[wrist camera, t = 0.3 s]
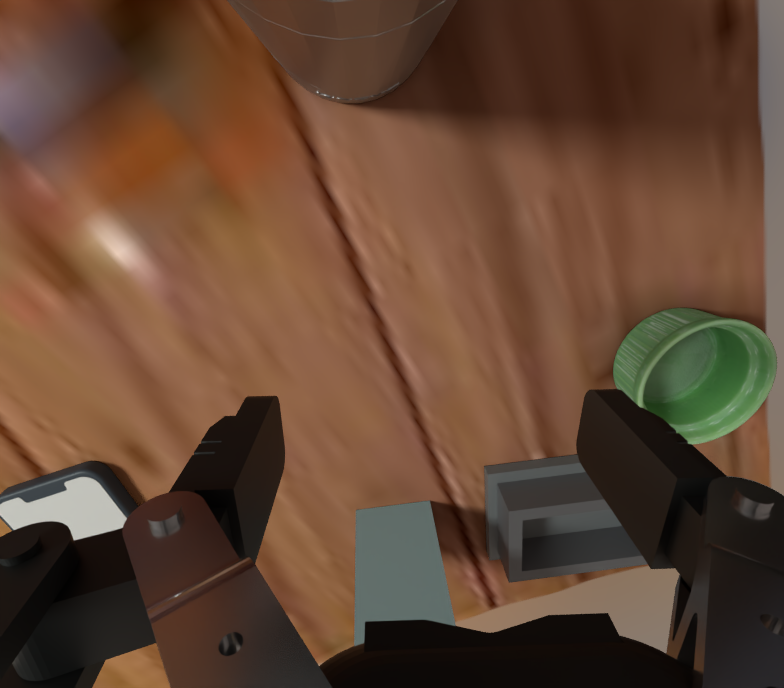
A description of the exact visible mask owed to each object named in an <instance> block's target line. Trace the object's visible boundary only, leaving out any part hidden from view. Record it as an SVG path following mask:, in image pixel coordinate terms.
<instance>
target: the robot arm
mask: <svg viewBox="0 0 784 688" xmlns="http://www.w3.org/2000/svg"><path fill="white" fill-rule="evenodd" d="M227 1H228V2H229V3H230V4H231V6H232V7H233V8H234V9H235V11H236V12H237V13H238V14H239V15H240V17H241V18H242V19H243V20H244V21H245V23H246V24H247V25H248V26H249V27H250V29H251V30H252V31H253V32H254V33H255V35H256V36H257V37H258V38H259V39H260V41H261V42H262V43H263V44H264V45H265V47H266V48H267V49H268V50H269V52H270V53H271V54H272V55H273V56H274V58H275V59H276V60H277V61H278V62H279V63H280V64H281V66H282V67H283V68H284V69H285V70H286V72H287V73H288V74H289V75H290V76H291V77H292V78H293V79H294V80H295V81H296V82H298V83H299V84H300V85H301V86H303V87H304V88H305V89H306V90H308V91H310V92H312V93H314V94H316V95H318V96H320V97H322V98H324V99H327V100H331V101H335V102H339V103H363V102H367V101H371V100H376V99H378V98H380V97H382V96H384V95H386V94H388V93H390V92H392V91H393V90H395V89H396V88H397V87H398V86H399V85H401V84H402V83H403V82H404V81H405V80H407V78H408V77H409V76H410V75H411V73H412V72H413V71H414V70H415V68H416V67H417V66H418V65H419V63H420V61H421V60H422V58H423V56H424V55H425V53H426V51H427V50H428V49H429V47H430V45H431V44H432V42H433V40H434V39H435V37H436V35H437V34H438V32H439V30H440V29H441V27H442V26H443V24H444V22H445V21H446V19H447V17H448V16H449V14H450V12H451V11H452V9H453V7H454V6H455V4H456V2H457V1H458V0H227ZM576 446H577V455H578V458H579V461H580V463H581V465H582V467H583V468H584V470H585V471H586V473H587V474H588V476H589V477H590V479H591V480H592V482H593V483H594V485H595V486H596V488H597V489H598V491H599V492H600V494H601V495H602V497H603V498H604V500H605V501H606V503H607V504H608V506H609V507H610V509H611V510H612V511H613V513H614V514H615V516H616V517H617V519H618V520H619V522H620V523H621V525H622V526H623V528H624V529H625V531H626V532H627V534H628V535H629V537H630V538H631V540H632V541H633V543H634V544H635V546H636V547H637V549H638V550H639V552H640V553H641V555H642V556H643V558H644V559H645V561H646V562H647V564H648V565H649V567H650V568H651V569H667V568H676V570H677V571H678V572H679V574H680V575H679V578H678V582H677V585H676V588H675V596H674V603H673V610H672V617H671V624H670V631H669V638H668V646H667V653H664V652H662V651H660V650H658V649H656V648H653V647H651V646H649V645H646V644H644V643H641V642H639V641H636V640H632V639H629V638H626V637H623V636H619V634H618V632H617V630H616V628H615V626H614V624H613V622H612V621H611V619H610V616H609V615H608V613H600V614H571V615H548V616H545V617H542V618H539V619H536V620H532V621H529V622H526V623H523V624H520V625H517V626H514V627H511V628H507V629H504V630H501V631H498V632H494V633H486V632H481V631H476V630H471V629H467V628H462V627H458V626H453V625H448V624H444V623H439V622H435V621H430V620H395V621H366V622H365V638H364V643H363V644H360V645H356V646H353V647H351V648H349V649H347V650H344V651H342V652H340V653H338V654H337V655H335V656H333V657H332V658H330V659H328V660H327V661H325V662H324V663H323V664H321V665H320V666H318V664H317V662H316V661H315V659H314V658H313V656H312V655H311V653H310V651H309V650H308V648H307V647H306V645H305V643H304V642H303V640H302V639H301V637H300V635H299V634H298V632H297V631H296V629H295V627H294V626H293V624H292V623H291V621H290V619H289V618H288V616H287V615H286V613H285V611H284V610H283V608H282V607H281V605H280V603H279V602H278V600H277V599H276V597H275V595H274V594H273V592H272V591H271V589H270V587H269V586H268V584H267V583H266V581H265V579H264V578H263V576H262V575H261V573H260V571H259V570H258V568H257V567H256V565H255V562H256V559H257V555H258V552H259V549H260V546H261V542H262V539H263V536H264V532H265V529H266V526H267V523H268V519H269V516H270V513H271V510H272V506H273V503H274V500H275V496H276V493H277V490H278V487H279V483H280V480H281V477H282V474H283V470H284V463H285V445H284V437H283V429H282V420H281V412H280V404H279V400H278V397H277V396H249V397H246V398H245V400H244V402H243V404H242V405H241V407H240V409H239V411H238V413H237V414H236V416H225V417H223V418H222V419H221V420H219V421H218V422H217V423H215V424H214V425H213V426H211V427H210V428H209V430H208V431H207V433H206V434H205V436H204V438H203V439H202V441H201V444H199V445H198V447H197V449H196V450H195V452H194V455H192V457H191V458H190V460H189V461H188V463H187V464H186V466H185V468H184V469H183V471H182V472H181V474H180V476H179V477H178V479H177V480H176V482H175V483H174V485H173V487H172V488H171V490H170V491H169V493H166V494H162V495H160V496H157V497H155V498H152V499H150V500H148V501H147V502H145V503H143V504H142V505H140V506H139V507H138V508H136V509H135V510H134V511H133V512H132V513H131V514H130V515H129V517H128V518H127V519H126V521H125V523H124V525H123V528H120V529H117V530H113V531H109V532H105V533H102V534H98V535H94V536H90V537H86V538H82V539H78V540H74V539H73V536H72V534H71V531H70V529H69V527H68V526H67V525H65V524H63V523H61V522H55V521H46V522H38V523H34V524H30V525H27V526H24V527H21V528H18V529H16V530H14V531H11V532H9V533H7V534H5V535H4V536H2V537H0V688H92V687H93V685H94V683H95V681H96V678H97V676H98V674H99V672H100V670H101V668H102V666H103V664H104V662H105V660H107V659H110V658H113V657H115V656H118V655H121V654H124V653H127V652H130V651H133V650H136V649H139V648H142V647H145V646H148V645H151V644H154V643H157V646H158V650H159V653H160V656H161V659H162V662H163V665H164V668H165V672H166V675H167V678H168V681H169V684H170V687H171V688H784V496H783V495H782V494H780V493H779V492H777V491H775V490H773V489H771V488H769V487H767V486H765V485H763V484H760V483H758V482H755V481H752V480H748V479H744V478H739V477H727V476H726V475H725V474H724V473H723V472H722V471H720V470H719V469H718V468H717V467H716V466H715V465H714V464H713V463H712V462H710V461H709V460H708V459H707V458H706V457H705V456H704V455H703V454H702V453H700V452H699V451H698V450H697V449H696V448H695V447H694V446H693V445H692V444H688V441H687V440H686V439H685V438H684V437H683V436H682V435H680V434H679V433H676V430H675V429H674V428H673V427H672V426H670V425H669V424H668V423H667V422H666V421H665V420H664V419H663V418H661V417H659V416H657V415H656V414H654V413H652V412H650V411H648V410H646V409H644V408H642V407H639V406H638V405H637V404H636V403H635V402H634V401H633V400H632V399H631V398H630V397H628V396H627V395H626V394H625V393H624V392H623V391H622V390H620V389H604V390H589V391H588V392H587V393H586V395H585V397H584V402H583V408H582V413H581V419H580V425H579V430H578V436H577V444H576Z"/></svg>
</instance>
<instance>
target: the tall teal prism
mask: <svg viewBox="0 0 784 688" xmlns="http://www.w3.org/2000/svg"><path fill="white" fill-rule="evenodd" d="M395 620H430V621H435V622H439V623H444V624H448V625H453V626H456V625H455V620H454V615H453V610H452V606H451V601H450V596H449V591H448V586H447V581H446V576H445V572H444V567H443V562H442V557H441V552H440V547H439V542H438V538H437V533H436V528H435V523H434V518H433V513H432V508H431V504H430V501H423V502H415V503H408V504H400V505H392V506H384V507H376V508H369V509H361V510H356V554H355V642H354V646H356V645H360V644H363V643H364V638H365V622H366V621H395Z"/></svg>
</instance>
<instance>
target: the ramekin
mask: <svg viewBox="0 0 784 688" xmlns="http://www.w3.org/2000/svg"><path fill="white" fill-rule="evenodd" d="M776 369H777V357H776V352H775V349H774V346H773V344H772V342H771V341H770V339H769V338H768V337H767V335H766V334H765V333H764V332H763V331H762V330H760V329H759V328H758V327H756V326H754V325H753V324H750V323H748V322H745V321H742V320H738V319H731V318H722V317H719V316H716V315H713V314H710V313H707V312H703V311H700V310H697V309H691V308H673V309H668V310H664V311H661V312H659V313H656V314H654V315H652V316H650V317H648V318H646V319H644V320H643V321H642V322H640V323H639V324H638V325H637V326H636V327H635V328H633V329H632V330H631V332H630V333H629V334H628V335H627V336H626V338H625V339H624V340H623V342H622V343H621V345H620V347H619V349H618V351H617V354H616V356H615V360H614V366H613V376H614V381H615V384H616V387H617V389H620V390H622V391H623V392H624V393H625V394H626V395H627V396H628V397H630V398H631V399H632V400H633V401H634V402H635V403H636V404H637V405H638V406H639V407H642V408H644V409H646V410H648V411H650V412H652V413H654V414H656V415H657V416H659V417H661V418H663V419H664V420H665V421H666V422H667V423H668V424H669V425H670V426H672V427H673V428H674V429H675V430H676V433H679V434H680V435H682V436H683V437H684V438H685V439H686V440H687V441H688V444H700V443H704V442H708V441H711V440H714V439H717V438H719V437H721V436H724V435H726V434H728V433H729V432H731V431H733V430H735V429H736V428H738V427H739V426H740V425H742V424H743V423H744V422H746V421H747V420H748V419H749V418H750V417H751V416H752V415H753V414H754V413H755V412H756V411H757V410H758V409H759V407H760V406H761V405H762V403H763V402H764V401H765V399H766V397H767V396H768V394H769V392H770V390H771V388H772V386H773V383H774V379H775V376H776Z"/></svg>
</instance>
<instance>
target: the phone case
mask: <svg viewBox="0 0 784 688" xmlns="http://www.w3.org/2000/svg"><path fill="white" fill-rule="evenodd" d="M136 508H138V505H137V504H136V502H135V501H134V500H133V498H132V497H131V496H130V494H129V493H128V492H127V490H126V489H125V488H124V486H123V485H122V484H121V482H120V481H119V480H118V478H117V477H116V476H115V474H114V473H113V472H112V470H111V469H110V468H109V467H108V466H106V465H105V464H103V463H100V462H97V461H88V462H84V463H81V464H78V465H75V466H72V467H69V468H66V469H63V470H60V471H57V472H54V473H51V474H48V475H44V476H41V477H38V478H35V479H32V480H29V481H26V482H23V483H20V484H17V485H14V486H11V487H9V488H7V489H6V490H4V491H3V492H2V493H1V494H0V518H1V519H2V520H3V521H4V522H5V524H6V525H7V526H8V527H9V528H10V529H11V530H12V531H14V530H16V529H18V528H21V527H24V526H27V525H30V524H34V523H38V522H46V521H55V522H61V523H63V524H65V525H67V526H68V527H69V529H70V531H71V534H72V536H73V539H74V540H78V539H82V538H86V537H90V536H94V535H98V534H102V533H105V532H109V531H113V530H117V529H120V528H123V525H124V523H125V521H126V519H127V518H128V517H129V515H130V514H131V513H132V512H133V511H134V510H135V509H136Z"/></svg>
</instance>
